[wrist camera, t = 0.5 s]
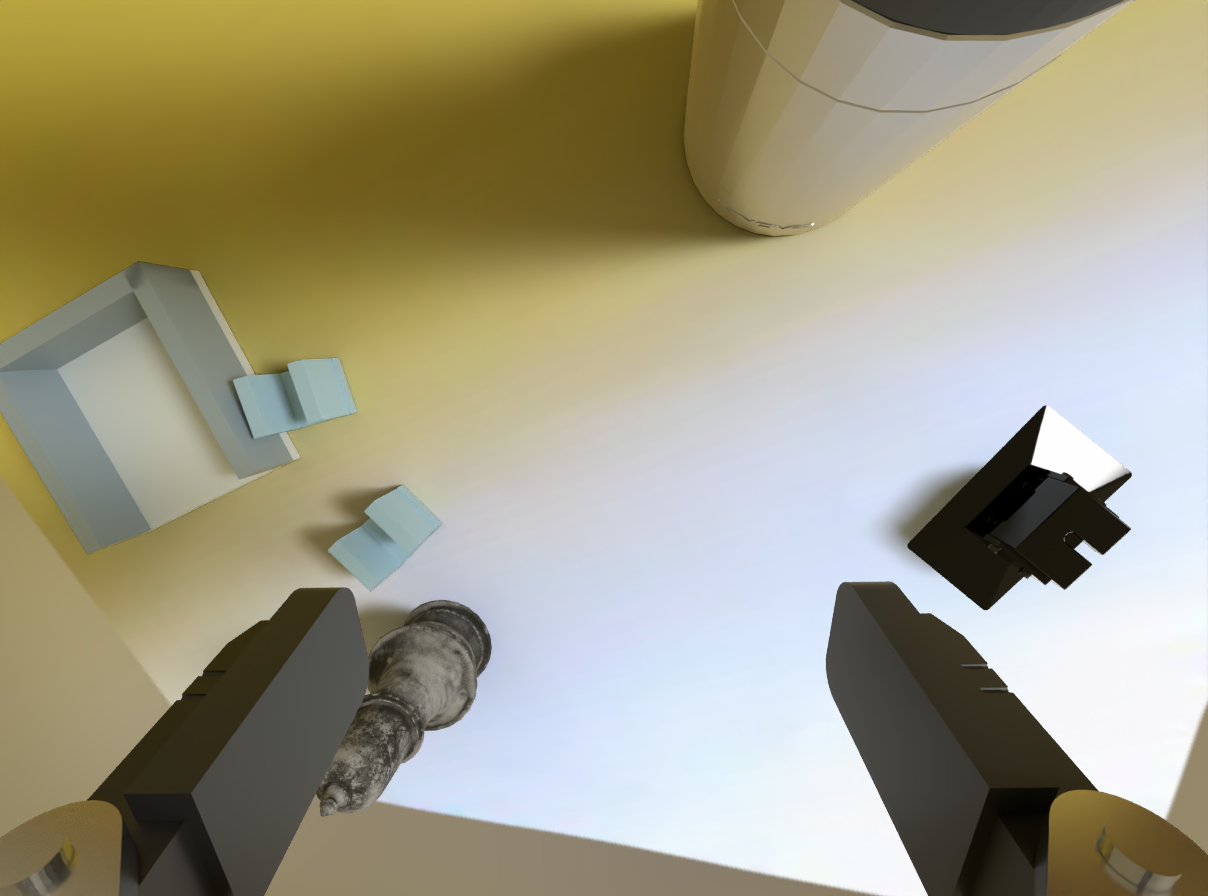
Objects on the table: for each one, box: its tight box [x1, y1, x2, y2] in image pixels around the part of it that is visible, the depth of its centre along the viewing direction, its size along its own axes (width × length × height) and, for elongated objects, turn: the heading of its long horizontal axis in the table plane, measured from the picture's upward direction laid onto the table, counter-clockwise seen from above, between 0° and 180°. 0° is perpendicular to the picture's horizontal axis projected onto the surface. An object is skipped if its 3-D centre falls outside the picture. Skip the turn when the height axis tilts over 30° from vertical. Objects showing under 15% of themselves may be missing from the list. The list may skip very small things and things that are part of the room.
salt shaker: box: [316, 600, 492, 817], centre depth 26 cm, size 6×6×12 cm
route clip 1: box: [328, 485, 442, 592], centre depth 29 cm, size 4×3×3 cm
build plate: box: [908, 405, 1132, 610], centre depth 26 cm, size 12×7×5 cm, turn 142°
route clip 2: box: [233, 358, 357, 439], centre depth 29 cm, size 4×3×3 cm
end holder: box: [0, 261, 300, 555], centre depth 29 cm, size 11×11×4 cm
